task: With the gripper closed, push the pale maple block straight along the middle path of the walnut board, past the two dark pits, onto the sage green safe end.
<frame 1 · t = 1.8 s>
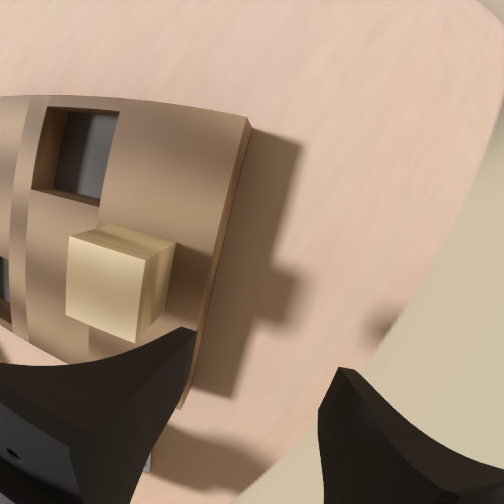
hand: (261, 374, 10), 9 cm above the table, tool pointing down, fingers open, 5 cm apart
maple block: (136, 267, 17), point 3 cm above the table, touching trap board
trap board: (52, 223, 20), on the table
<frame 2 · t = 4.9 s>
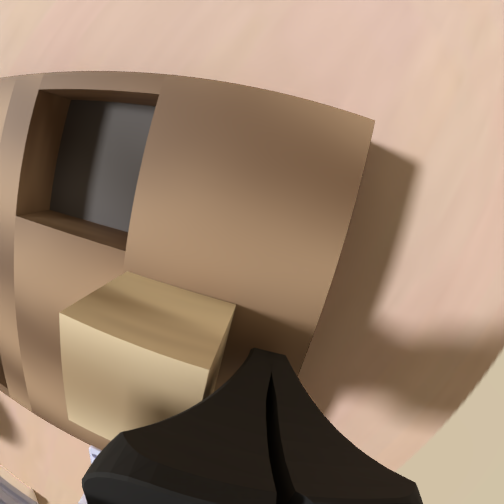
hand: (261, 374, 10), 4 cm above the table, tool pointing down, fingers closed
maple block: (170, 337, 11), point 3 cm above the table, touching gripper, trap board
trap board: (51, 259, 14), on the table
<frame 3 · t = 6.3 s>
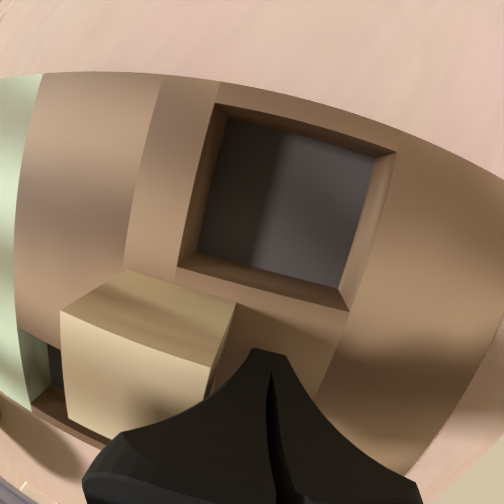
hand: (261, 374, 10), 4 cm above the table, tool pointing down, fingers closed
maple block: (170, 335, 11), point 3 cm above the table, touching gripper, trap board
trap board: (187, 306, 14), on the table
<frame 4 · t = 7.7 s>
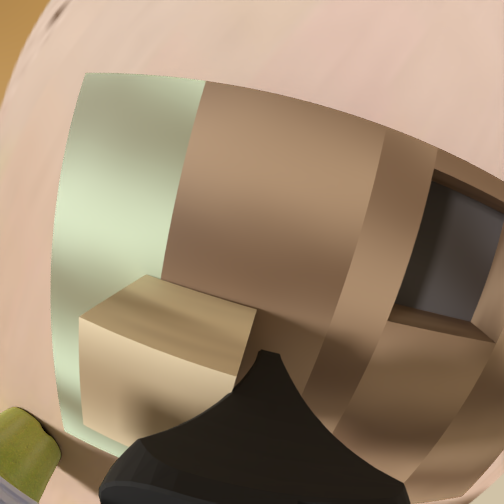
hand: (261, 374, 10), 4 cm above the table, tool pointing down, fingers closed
maple block: (188, 341, 11), point 3 cm above the table, touching gripper
plant pot: (34, 432, 18), on the table
trap board: (345, 347, 14), on the table
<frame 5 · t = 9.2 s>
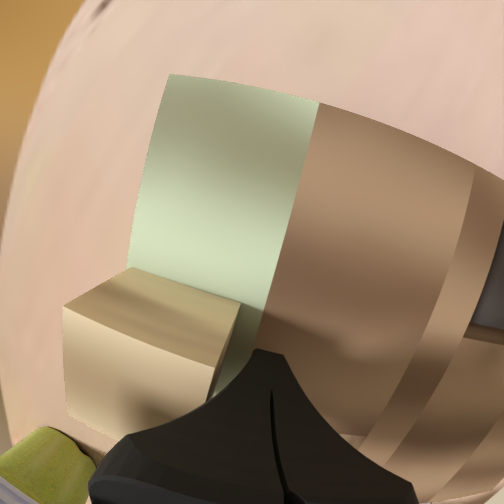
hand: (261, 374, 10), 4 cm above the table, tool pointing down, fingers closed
maple block: (173, 334, 11), point 3 cm above the table, touching gripper, trap board
plant pot: (67, 451, 18), on the table
trap board: (410, 359, 13), on the table
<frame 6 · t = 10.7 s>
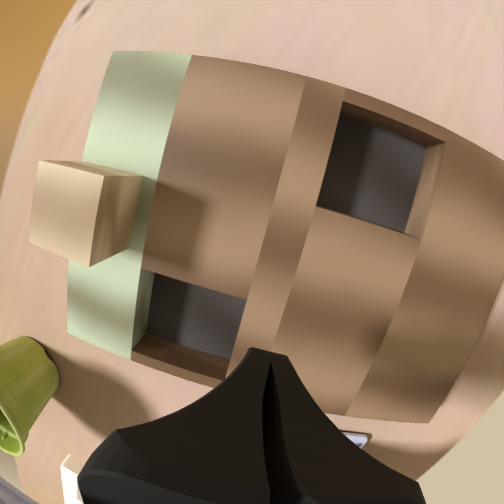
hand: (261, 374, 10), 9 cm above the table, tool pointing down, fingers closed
maple block: (104, 203, 16), point 3 cm above the table, touching trap board
plant pot: (37, 362, 23), on the table
trap board: (296, 247, 18), on the table
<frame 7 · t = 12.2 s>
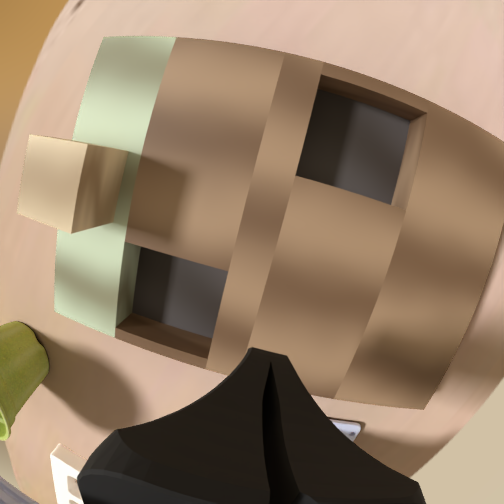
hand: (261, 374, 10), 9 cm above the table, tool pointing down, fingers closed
maple block: (91, 179, 16), point 3 cm above the table, touching trap board
plant pot: (28, 348, 23), on the table
trap board: (280, 222, 18), on the table
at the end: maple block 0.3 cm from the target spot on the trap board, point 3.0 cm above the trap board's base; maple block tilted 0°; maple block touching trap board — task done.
